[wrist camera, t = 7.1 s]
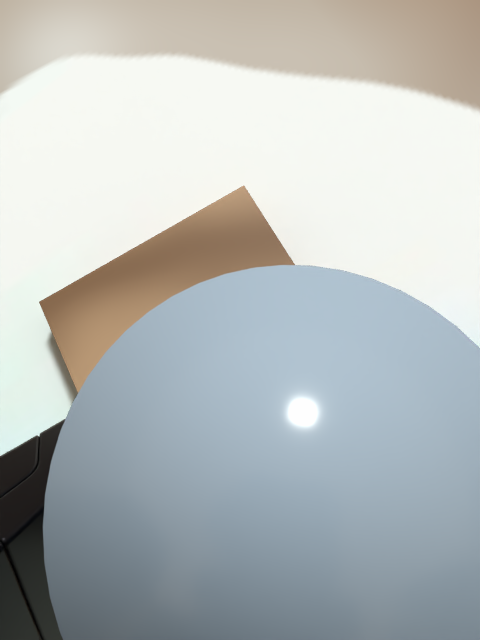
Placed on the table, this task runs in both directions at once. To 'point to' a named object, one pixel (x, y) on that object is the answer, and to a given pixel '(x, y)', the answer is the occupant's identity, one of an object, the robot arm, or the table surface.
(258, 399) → the slate-blue bottle
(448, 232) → the table surface
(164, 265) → the walnut board
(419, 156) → the table surface
